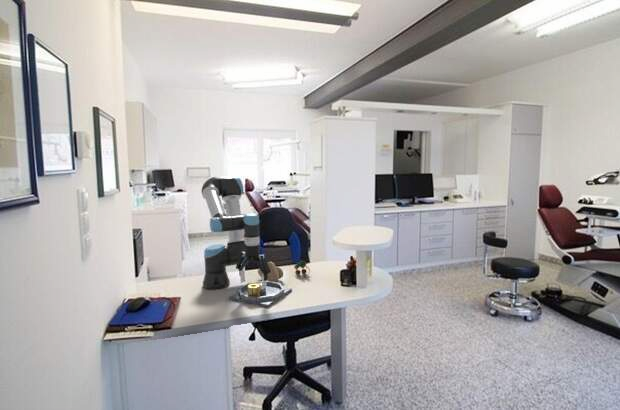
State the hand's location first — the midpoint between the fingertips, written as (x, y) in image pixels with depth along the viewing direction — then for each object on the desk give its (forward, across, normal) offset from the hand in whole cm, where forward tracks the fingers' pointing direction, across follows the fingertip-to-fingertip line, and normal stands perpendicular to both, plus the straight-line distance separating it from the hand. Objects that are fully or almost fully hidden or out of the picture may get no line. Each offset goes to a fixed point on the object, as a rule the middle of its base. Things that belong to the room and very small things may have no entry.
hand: (253, 284), depth 173 cm
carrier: (+8, +1, +6) cm, 10 cm away
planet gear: (+7, +1, 0) cm, 7 cm away
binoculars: (+9, +5, +44) cm, 45 cm away
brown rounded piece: (+9, -7, +28) cm, 30 cm away
